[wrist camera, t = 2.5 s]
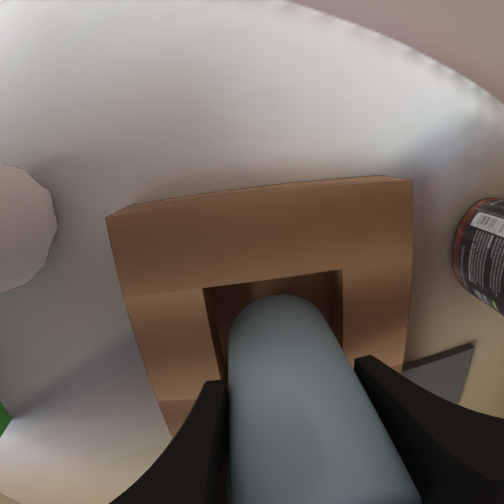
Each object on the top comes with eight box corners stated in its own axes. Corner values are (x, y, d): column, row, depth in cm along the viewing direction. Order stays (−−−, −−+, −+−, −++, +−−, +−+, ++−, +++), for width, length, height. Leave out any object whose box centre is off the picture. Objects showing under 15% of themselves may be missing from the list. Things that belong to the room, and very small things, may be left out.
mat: (449, 413, 20) (452, 417, 19) (372, 440, 20) (374, 445, 19) (469, 343, 18) (474, 347, 17) (383, 370, 18) (387, 375, 17)
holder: (376, 377, 18) (394, 408, 15) (180, 407, 18) (174, 443, 15) (380, 175, 14) (412, 180, 12) (128, 206, 14) (105, 217, 11)
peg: (327, 370, 14) (398, 540, 5) (236, 384, 14) (245, 572, 5) (326, 286, 13) (444, 462, 4) (220, 301, 13) (212, 515, 4)
